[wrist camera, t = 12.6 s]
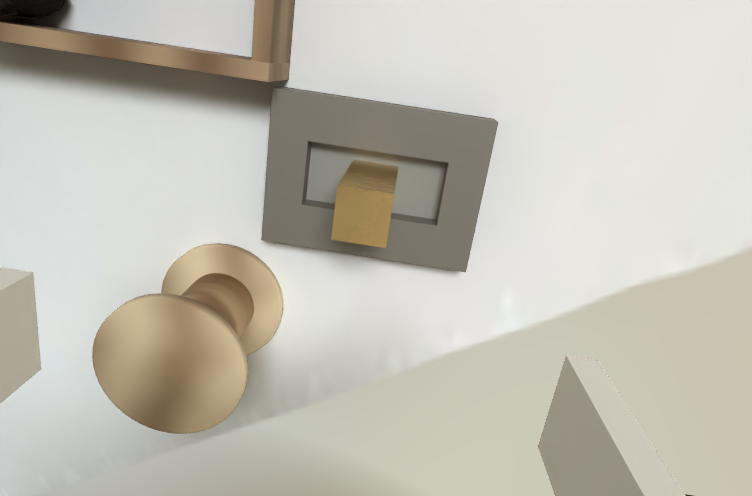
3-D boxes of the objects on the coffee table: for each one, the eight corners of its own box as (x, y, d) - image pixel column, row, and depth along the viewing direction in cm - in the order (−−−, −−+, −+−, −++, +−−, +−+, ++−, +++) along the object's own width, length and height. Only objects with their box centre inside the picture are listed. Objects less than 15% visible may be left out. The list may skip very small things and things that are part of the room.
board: (269, 231, 37) (261, 239, 35) (280, 86, 34) (272, 87, 32) (463, 261, 37) (465, 272, 35) (493, 119, 34) (498, 122, 32)
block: (354, 159, 35) (337, 185, 27) (398, 166, 35) (394, 194, 27) (348, 202, 36) (331, 239, 28) (391, 209, 36) (386, 248, 28)
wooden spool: (165, 342, 41) (95, 420, 32) (166, 234, 38) (88, 287, 29) (278, 360, 41) (240, 444, 32) (288, 253, 38) (248, 313, 29)
